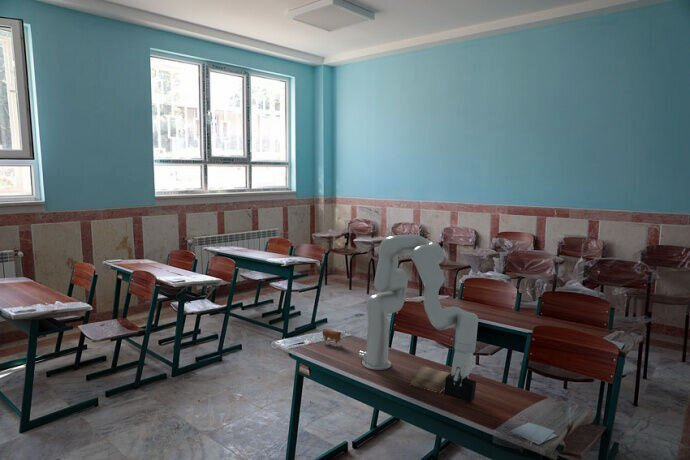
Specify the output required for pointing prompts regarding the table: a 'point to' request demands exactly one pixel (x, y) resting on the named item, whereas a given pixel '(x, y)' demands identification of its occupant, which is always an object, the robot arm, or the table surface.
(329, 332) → the bull figurine
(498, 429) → the table surface
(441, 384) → the plinth
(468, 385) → the digital camera
